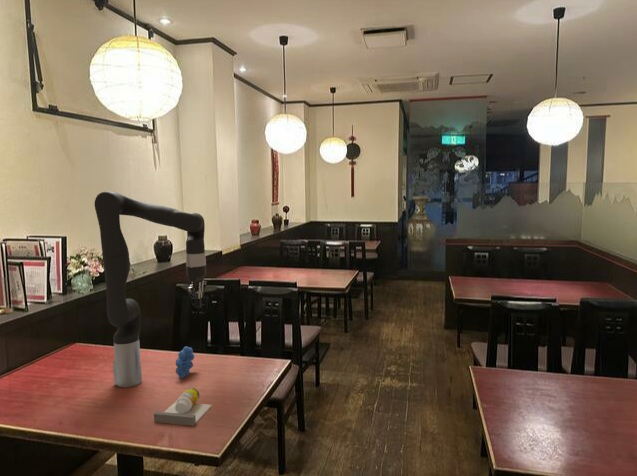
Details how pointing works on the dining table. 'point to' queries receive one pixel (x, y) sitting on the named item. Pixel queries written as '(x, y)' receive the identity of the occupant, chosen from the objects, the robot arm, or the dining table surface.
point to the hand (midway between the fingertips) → (198, 307)
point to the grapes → (184, 361)
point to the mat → (182, 415)
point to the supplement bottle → (187, 400)
